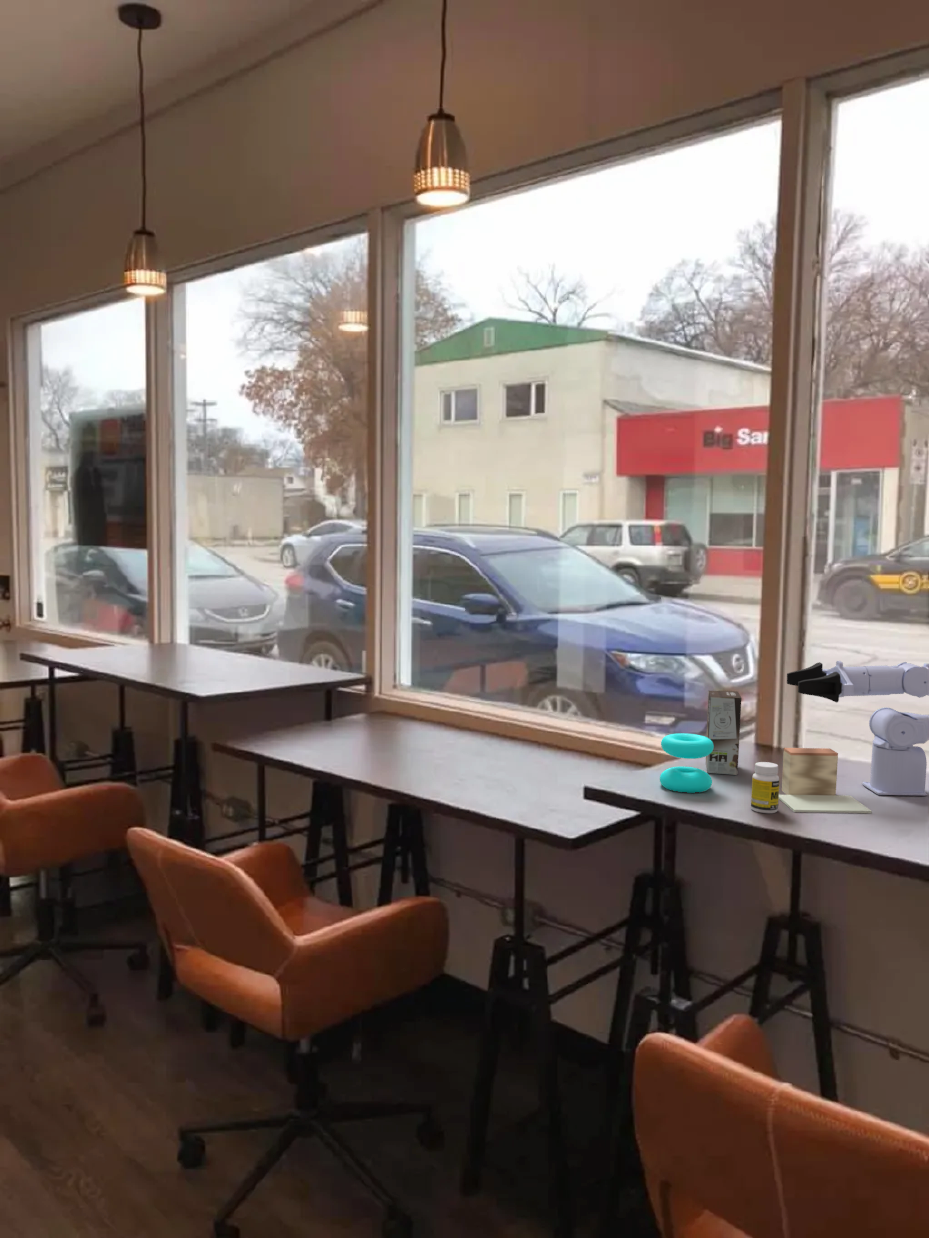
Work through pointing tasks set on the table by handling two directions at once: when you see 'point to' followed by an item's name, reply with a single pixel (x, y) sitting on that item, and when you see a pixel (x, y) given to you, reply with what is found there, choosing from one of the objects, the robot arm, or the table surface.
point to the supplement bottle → (765, 788)
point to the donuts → (681, 775)
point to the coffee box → (723, 731)
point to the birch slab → (809, 771)
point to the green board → (823, 803)
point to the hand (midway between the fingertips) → (792, 682)
